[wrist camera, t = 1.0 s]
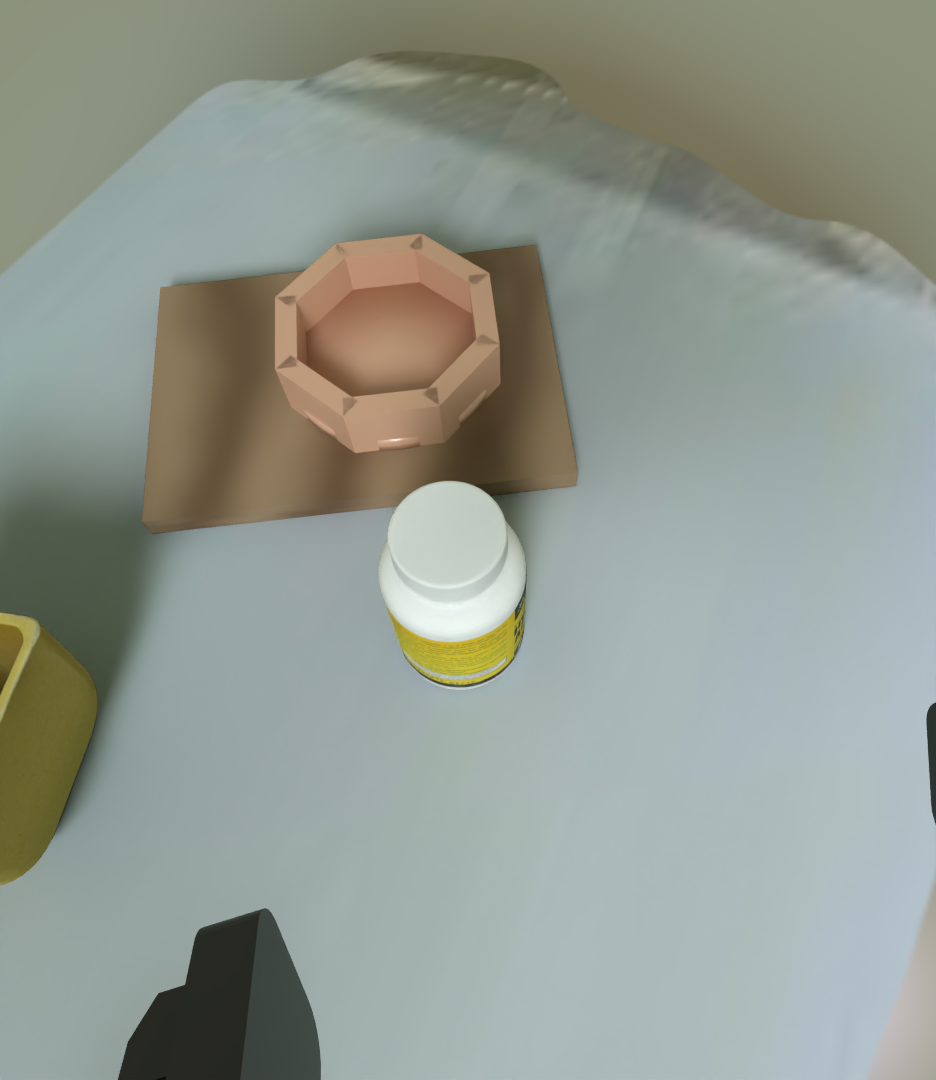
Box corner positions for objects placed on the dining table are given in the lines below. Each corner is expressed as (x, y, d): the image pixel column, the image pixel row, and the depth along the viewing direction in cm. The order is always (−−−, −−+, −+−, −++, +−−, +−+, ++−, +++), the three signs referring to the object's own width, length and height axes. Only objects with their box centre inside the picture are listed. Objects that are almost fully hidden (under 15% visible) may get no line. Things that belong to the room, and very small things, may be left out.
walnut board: (152, 533, 39) (141, 522, 38) (169, 303, 45) (160, 287, 44) (576, 485, 39) (577, 473, 38) (535, 261, 45) (536, 244, 44)
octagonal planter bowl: (289, 462, 39) (272, 426, 36) (288, 292, 43) (273, 249, 40) (510, 437, 39) (510, 400, 36) (486, 269, 43) (484, 224, 40)
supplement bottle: (538, 675, 35) (547, 588, 26) (413, 706, 35) (379, 628, 26) (507, 561, 37) (505, 446, 28) (389, 589, 37) (350, 481, 28)
